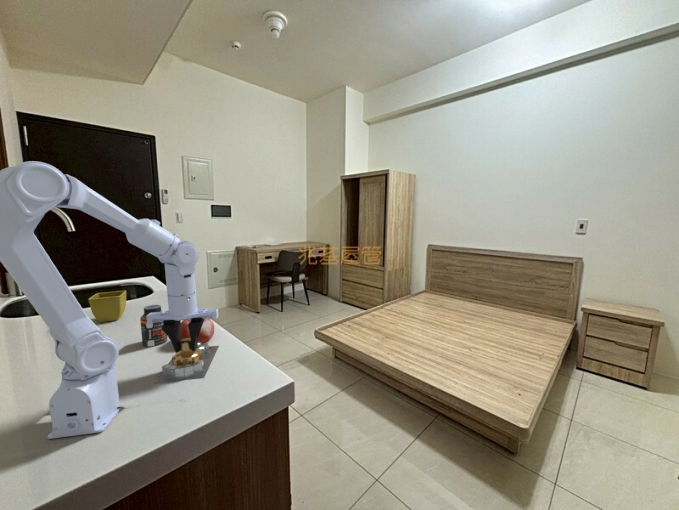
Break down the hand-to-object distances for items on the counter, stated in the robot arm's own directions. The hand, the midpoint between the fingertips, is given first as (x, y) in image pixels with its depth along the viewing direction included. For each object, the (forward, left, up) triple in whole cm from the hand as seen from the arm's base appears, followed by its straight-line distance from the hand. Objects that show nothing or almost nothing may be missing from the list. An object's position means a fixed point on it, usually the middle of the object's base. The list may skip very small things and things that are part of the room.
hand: (186, 349), depth 67 cm
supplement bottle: (+16, +13, -5) cm, 21 cm away
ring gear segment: (-4, 0, -4) cm, 6 cm away
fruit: (+15, +2, -5) cm, 16 cm away
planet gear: (0, 0, -3) cm, 3 cm away
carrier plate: (+2, 0, -5) cm, 6 cm away
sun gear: (+7, 0, -4) cm, 8 cm away
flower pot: (+42, +37, -5) cm, 56 cm away
